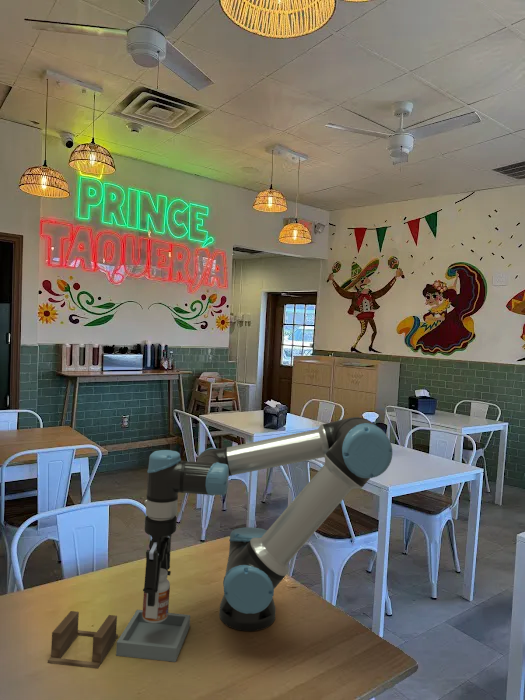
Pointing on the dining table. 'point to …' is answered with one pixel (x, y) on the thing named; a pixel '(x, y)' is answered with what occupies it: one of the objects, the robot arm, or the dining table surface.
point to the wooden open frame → (69, 632)
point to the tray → (153, 637)
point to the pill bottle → (160, 599)
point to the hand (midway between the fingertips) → (155, 609)
